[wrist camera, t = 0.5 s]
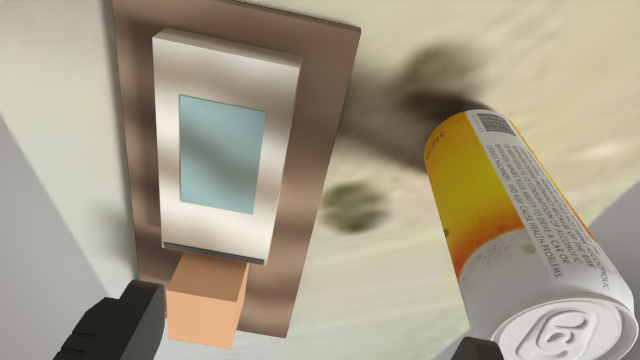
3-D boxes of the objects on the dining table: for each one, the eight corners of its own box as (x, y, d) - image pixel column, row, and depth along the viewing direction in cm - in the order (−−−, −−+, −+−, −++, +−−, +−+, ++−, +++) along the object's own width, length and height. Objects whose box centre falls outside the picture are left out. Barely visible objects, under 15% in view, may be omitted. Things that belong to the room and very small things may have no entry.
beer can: (415, 179, 30) (462, 380, 17) (430, 101, 26) (501, 285, 14) (500, 183, 29) (608, 390, 17) (526, 105, 26) (685, 296, 14)
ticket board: (118, -25, 23) (88, -15, 20) (360, 28, 24) (362, 44, 21) (147, 305, 40) (133, 333, 38) (287, 329, 41) (282, 358, 38)
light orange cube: (189, 240, 33) (166, 290, 29) (250, 252, 33) (236, 302, 29) (188, 288, 36) (168, 339, 32) (244, 298, 37) (231, 349, 32)
